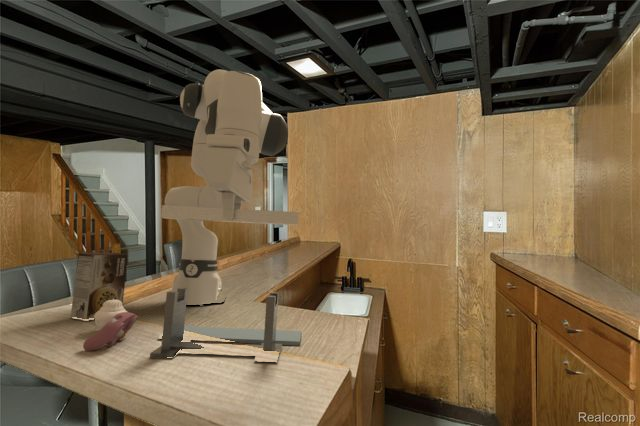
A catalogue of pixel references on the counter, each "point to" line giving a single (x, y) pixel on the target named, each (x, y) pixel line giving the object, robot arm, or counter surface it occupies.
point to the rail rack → (173, 344)
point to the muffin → (108, 312)
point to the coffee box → (98, 282)
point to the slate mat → (247, 335)
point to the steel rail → (239, 216)
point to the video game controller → (111, 331)
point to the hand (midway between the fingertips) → (231, 219)
